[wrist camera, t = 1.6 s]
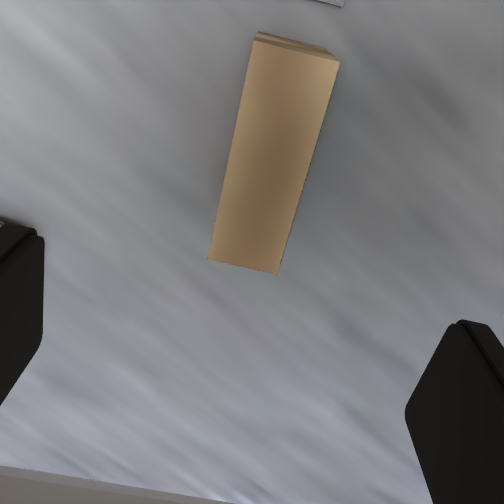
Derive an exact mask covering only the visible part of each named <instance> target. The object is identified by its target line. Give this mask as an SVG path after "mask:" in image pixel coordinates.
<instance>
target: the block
mask: <svg viewBox="0 0 504 504" xmlns="http://www.w3.org/2000/svg"><path fill="white" fill-rule="evenodd" d="M339 65H340V62H339V61H338V60H337V59H336V58H335V57H334V56H333V55H332V54H330V53H329V52H328V51H327V50H326V49H325V48H321V47H317V46H313V45H309V44H305V43H301V42H298V41H294V40H290V39H286V38H282V37H278V36H274V35H270V34H266V33H263V32H258V33H257V35H256V37H255V38H254V40H253V45H252V49H251V54H250V59H249V64H248V68H247V73H246V78H245V83H244V87H243V92H242V97H241V102H240V106H239V111H238V116H237V120H236V125H235V130H234V135H233V139H232V144H231V149H230V154H229V158H228V163H227V168H226V173H225V177H224V182H223V187H222V191H221V196H220V201H219V206H218V210H217V215H216V220H215V225H214V229H213V234H212V239H211V244H210V248H209V253H208V258H207V259H209V260H214V261H218V262H223V263H227V264H232V265H236V266H241V267H245V268H250V269H254V270H259V271H263V272H268V273H272V274H277V272H278V269H279V265H280V264H281V261H282V257H283V254H284V251H285V247H286V244H287V241H288V237H289V234H290V231H291V227H292V224H293V221H294V217H295V214H296V211H297V207H298V204H299V201H300V197H301V194H302V191H303V187H304V184H305V181H306V177H307V174H308V171H309V167H310V164H311V161H312V157H313V154H314V151H315V147H316V144H317V141H318V137H319V134H320V131H321V127H322V124H323V121H324V117H325V114H326V111H327V107H328V104H329V101H330V97H331V94H332V91H333V87H334V84H335V80H336V77H337V74H338V72H337V71H338V68H339Z"/></svg>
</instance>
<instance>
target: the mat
mask: <svg viewBox="0 0 504 504" xmlns="http://www.w3.org/2000/svg"><path fill="white" fill-rule="evenodd" d="M318 1H321V2H325V3H329V4H333V5H337V6H340V7H343V6H344V3H345V0H318Z"/></svg>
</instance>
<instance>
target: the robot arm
mask: <svg viewBox="0 0 504 504" xmlns="http://www.w3.org/2000/svg"><path fill="white" fill-rule="evenodd" d="M44 248H45V243H44V238H43V237H41V236H37V232H36V230H35V229H34V228H30V227H25V226H21V225H16V224H11V223H5V224H3V225H2V226H1V227H0V405H1V404H2V402H3V401H4V399H5V398H6V396H7V395H8V393H9V392H10V390H11V389H12V387H13V386H14V384H15V383H16V381H17V380H18V378H19V377H20V375H21V374H22V372H23V371H24V369H25V368H26V366H27V365H28V363H29V362H30V360H31V359H32V357H33V356H34V354H35V353H36V351H37V350H38V348H39V346H40V343H41V340H42V334H43V293H44ZM405 420H406V424H407V427H408V430H409V433H410V436H411V439H412V442H413V445H414V448H415V451H416V454H417V457H418V460H419V463H420V466H421V469H422V471H423V474H424V477H425V480H426V483H427V486H428V489H429V492H430V495H431V498H432V501H433V504H504V347H503V346H502V344H501V343H500V341H499V340H498V338H497V337H496V336H495V334H494V333H493V331H492V330H491V328H490V327H489V326H488V325H486V324H482V323H477V322H472V321H468V320H463V319H462V320H459V321H458V322H457V323H456V324H451V325H450V326H449V327H448V328H447V330H446V332H445V333H444V335H443V337H442V339H441V341H440V343H439V345H438V347H437V348H436V350H435V352H434V354H433V356H432V358H431V360H430V362H429V363H428V365H427V367H426V369H425V371H424V373H423V375H422V377H421V378H420V380H419V382H418V384H417V386H416V388H415V390H414V392H413V393H412V395H411V397H410V399H409V401H408V403H407V405H406V408H405ZM0 504H233V503H228V502H222V501H216V500H210V499H204V498H198V497H192V496H186V495H180V494H174V493H168V492H162V491H156V490H150V489H144V488H138V487H132V486H126V485H120V484H114V483H108V482H102V481H96V480H90V479H83V478H77V477H71V476H65V475H59V474H53V473H47V472H41V471H35V470H28V469H21V468H14V467H8V466H1V465H0Z"/></svg>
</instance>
